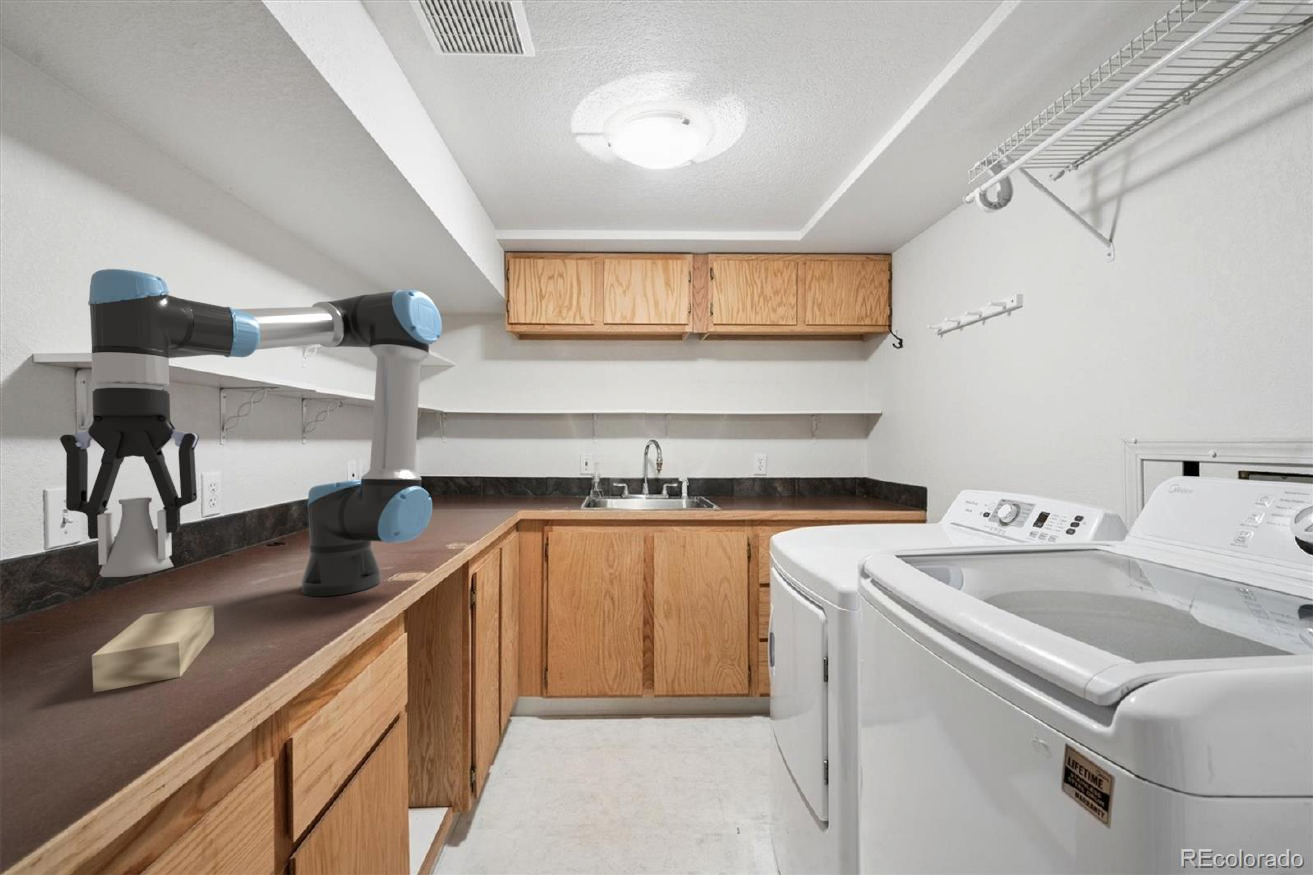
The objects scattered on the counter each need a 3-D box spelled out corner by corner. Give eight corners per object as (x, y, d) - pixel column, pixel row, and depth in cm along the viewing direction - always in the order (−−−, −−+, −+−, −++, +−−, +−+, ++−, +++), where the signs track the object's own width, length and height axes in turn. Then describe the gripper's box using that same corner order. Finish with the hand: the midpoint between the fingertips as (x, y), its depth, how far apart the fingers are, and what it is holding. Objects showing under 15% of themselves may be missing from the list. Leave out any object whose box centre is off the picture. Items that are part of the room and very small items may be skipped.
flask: (152, 564, 78) (150, 495, 78) (185, 567, 76) (183, 496, 76) (85, 577, 71) (83, 501, 71) (120, 581, 69) (118, 502, 69)
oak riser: (214, 634, 93) (213, 605, 93) (180, 676, 77) (178, 641, 77) (144, 645, 89) (143, 614, 88) (93, 692, 73) (91, 655, 72)
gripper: (223, 391, 81) (227, 546, 81) (51, 388, 72) (55, 562, 72) (210, 387, 74) (215, 556, 75) (19, 383, 66) (25, 575, 66)
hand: (136, 559), depth 74 cm, fingers closed on flask, 5 cm apart
